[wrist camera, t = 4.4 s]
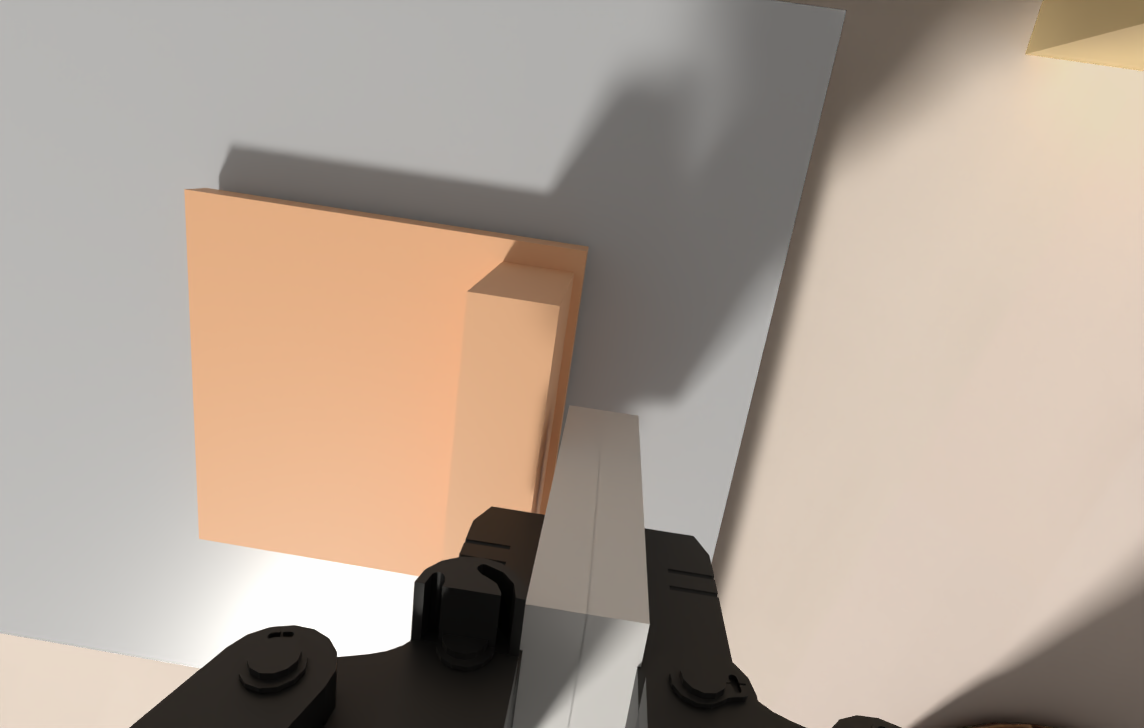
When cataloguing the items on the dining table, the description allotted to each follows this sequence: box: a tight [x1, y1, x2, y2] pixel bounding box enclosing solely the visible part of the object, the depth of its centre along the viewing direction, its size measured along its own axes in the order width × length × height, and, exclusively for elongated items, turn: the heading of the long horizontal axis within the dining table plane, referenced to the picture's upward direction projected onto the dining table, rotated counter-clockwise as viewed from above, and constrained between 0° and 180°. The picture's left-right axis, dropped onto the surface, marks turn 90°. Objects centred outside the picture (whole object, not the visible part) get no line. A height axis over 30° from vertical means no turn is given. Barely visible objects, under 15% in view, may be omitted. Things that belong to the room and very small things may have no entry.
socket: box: [0, 0, 846, 668], centre depth 18 cm, size 20×26×3 cm
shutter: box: [184, 188, 589, 576], centre depth 14 cm, size 9×9×4 cm
